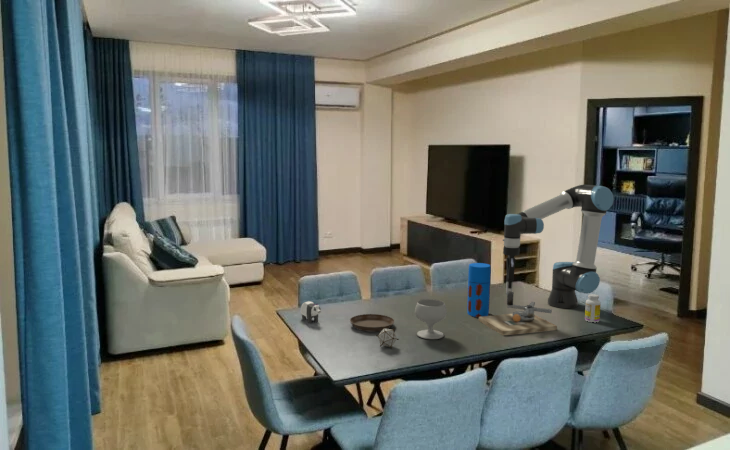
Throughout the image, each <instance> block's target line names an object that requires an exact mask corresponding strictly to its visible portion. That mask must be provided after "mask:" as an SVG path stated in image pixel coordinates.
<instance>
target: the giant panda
mask: <svg viewBox="0 0 730 450" xmlns="http://www.w3.org/2000/svg"><path fill="white" fill-rule="evenodd" d="M321 310H322V308H321V306H319V303H316V304H315V303H314V302H313V301H305V302H303V303H302V304H301V306H300V315H301V319H302V320H303V321H306V319H307V323H308V324H312V323H313V322H315V323H318V321H319V315H320V313H322V311H321ZM312 320H313V321H312Z"/></svg>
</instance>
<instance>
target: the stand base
mask: <svg viewBox="0 0 730 450" xmlns="http://www.w3.org/2000/svg"><path fill="white" fill-rule="evenodd" d="M534 315H535V317H534V320H533V321H529V322H524V321H519V322H515V321H514V320H513V318H512V316H513V313H506V314H496V315H495V314H494V315H488V316H481V317H478V322H480V323H482V324H483V325H485V326H487V327H488V328H489V329H491V330H493V331H495V332H497V333H498V334H499V335H501V336H511V335H522V334H523V335H524V334H531V333H541V332H550V331H557V330H558V325H556V324H554V323H552V322H550V321H548V320H546V319H544V318H542V317H540V316H538V315H536V314H534Z"/></svg>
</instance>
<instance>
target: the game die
mask: <svg viewBox="0 0 730 450" xmlns="http://www.w3.org/2000/svg"><path fill="white" fill-rule="evenodd" d="M375 337H377V339H378V340H379V343H380V345H379V347H382V346H384V347H387V348H388V347H389V348H390V349H391V350H392V349H393V347H392V346H393V345H394V344H395V343H396V341H399V338H397V335H396V333H395V327H394V328H393V329H392V328H389V329H386V328H384V327H383V330H382V331H379V334H378V335H376V334H375Z"/></svg>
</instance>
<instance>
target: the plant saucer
mask: <svg viewBox="0 0 730 450" xmlns="http://www.w3.org/2000/svg"><path fill="white" fill-rule="evenodd" d="M349 322H350V324H351V326H353V328H355V329H357V330H359V331H362V332H367V333H368V332H370V333H373V332H374V333H376V332H377V333H378V332H379V333H380V332H381V331H382V330H383V327H384V328H386V329H391V327H392V326H393V325H394V323H395V319H394V317H390V316H388V315H383V314H379V313H378V314H377V313H364V314H358V315H355V316H352V317H351V318H350V319H349Z"/></svg>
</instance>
